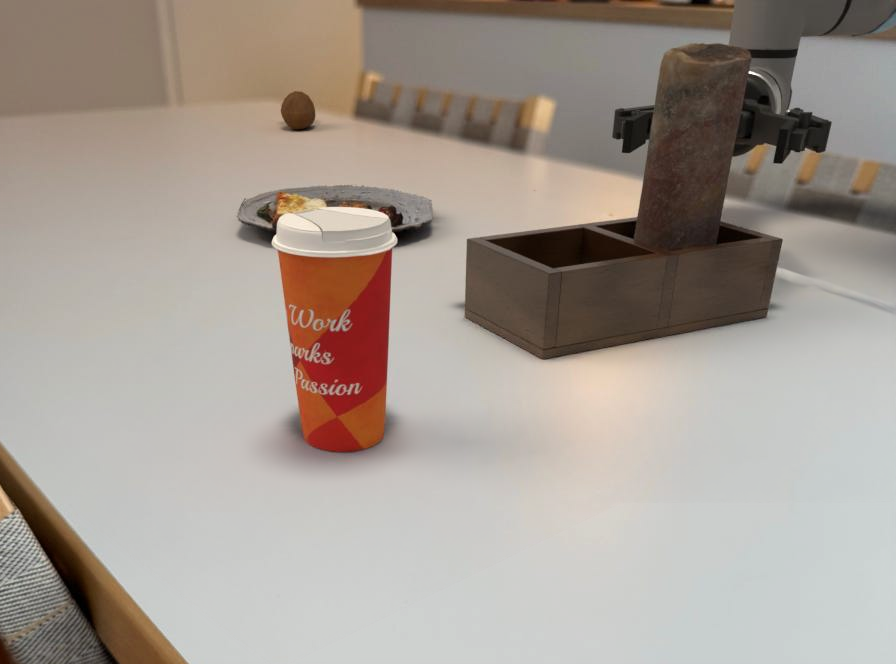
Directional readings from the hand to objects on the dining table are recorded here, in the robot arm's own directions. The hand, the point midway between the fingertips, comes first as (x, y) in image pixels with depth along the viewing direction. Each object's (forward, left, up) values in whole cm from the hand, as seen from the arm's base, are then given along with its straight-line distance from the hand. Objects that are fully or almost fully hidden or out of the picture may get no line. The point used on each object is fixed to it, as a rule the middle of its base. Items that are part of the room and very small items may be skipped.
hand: (702, 141), depth 86 cm
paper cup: (-16, +43, -14) cm, 48 cm away
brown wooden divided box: (-3, +10, -13) cm, 17 cm away
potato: (+122, -9, -14) cm, 123 cm away
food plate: (+42, +18, -14) cm, 48 cm away
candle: (-3, +4, -13) cm, 14 cm away
